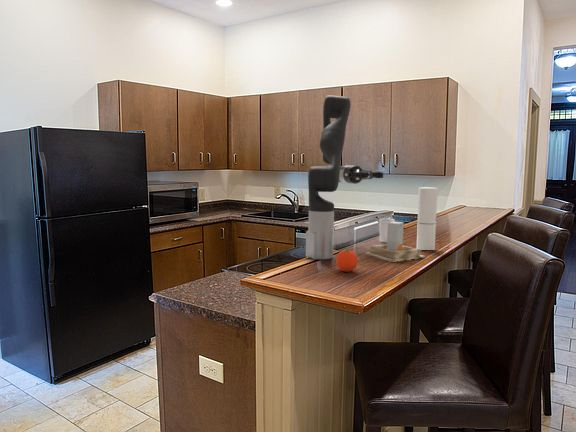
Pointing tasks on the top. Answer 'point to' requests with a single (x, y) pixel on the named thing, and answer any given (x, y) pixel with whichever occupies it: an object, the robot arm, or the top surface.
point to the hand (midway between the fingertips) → (374, 175)
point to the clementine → (346, 260)
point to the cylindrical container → (426, 218)
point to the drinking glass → (384, 228)
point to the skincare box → (395, 236)
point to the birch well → (394, 253)
